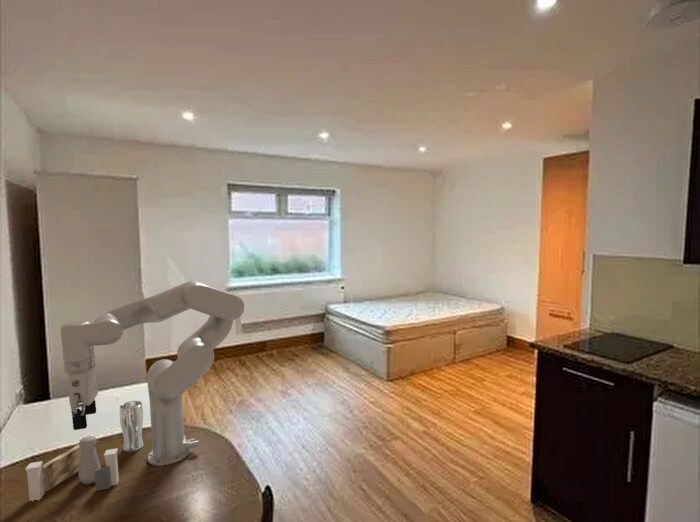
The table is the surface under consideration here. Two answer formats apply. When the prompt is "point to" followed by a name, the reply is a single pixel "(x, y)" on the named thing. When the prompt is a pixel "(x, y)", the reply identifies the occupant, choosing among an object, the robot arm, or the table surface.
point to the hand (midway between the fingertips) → (85, 421)
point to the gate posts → (102, 475)
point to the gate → (61, 467)
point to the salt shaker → (88, 460)
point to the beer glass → (132, 425)
